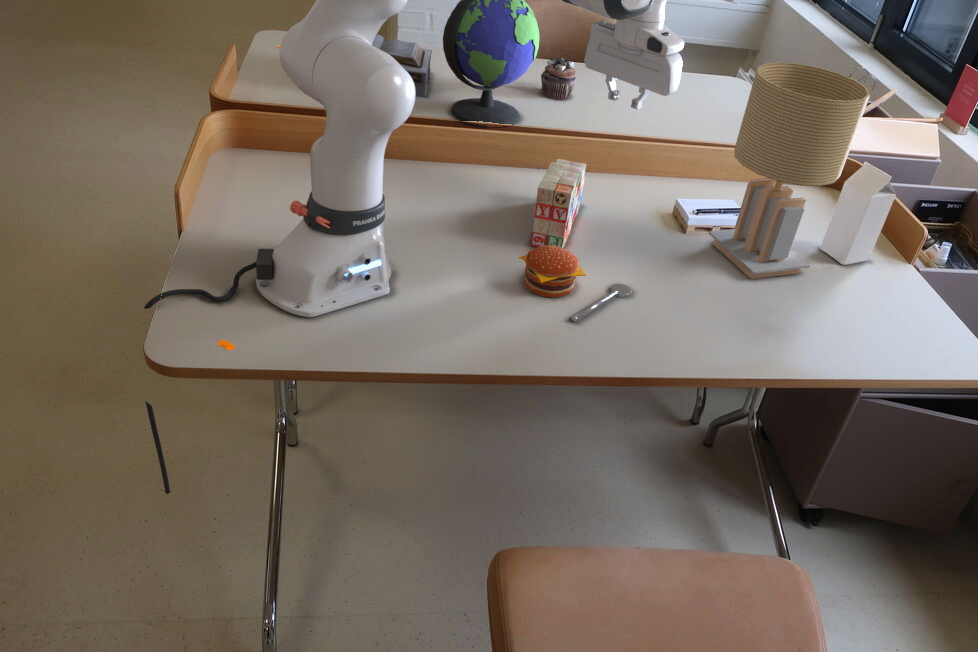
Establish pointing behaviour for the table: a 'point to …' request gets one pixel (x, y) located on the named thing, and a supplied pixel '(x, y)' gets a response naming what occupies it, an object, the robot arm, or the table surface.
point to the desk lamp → (788, 159)
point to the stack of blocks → (557, 203)
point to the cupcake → (558, 79)
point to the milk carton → (859, 215)
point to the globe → (489, 53)
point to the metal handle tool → (605, 300)
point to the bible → (409, 60)
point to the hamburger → (551, 271)
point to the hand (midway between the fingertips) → (624, 103)
